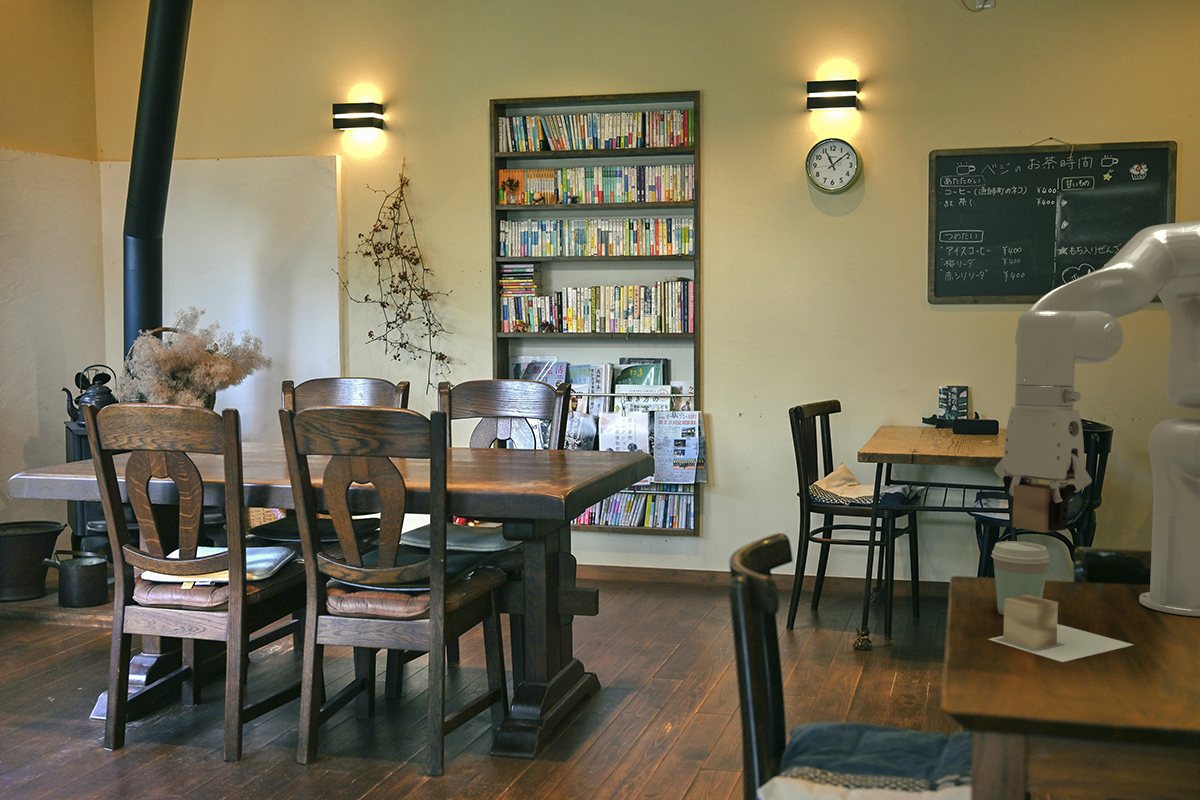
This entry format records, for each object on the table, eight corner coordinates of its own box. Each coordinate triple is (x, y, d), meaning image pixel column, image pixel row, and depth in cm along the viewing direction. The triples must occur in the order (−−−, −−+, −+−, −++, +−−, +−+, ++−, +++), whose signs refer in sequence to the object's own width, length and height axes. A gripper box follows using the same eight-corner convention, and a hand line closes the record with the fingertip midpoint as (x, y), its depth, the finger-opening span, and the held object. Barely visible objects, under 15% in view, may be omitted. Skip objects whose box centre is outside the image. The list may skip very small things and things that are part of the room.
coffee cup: (1054, 630, 153) (1056, 552, 153) (994, 626, 155) (997, 550, 155) (1041, 615, 162) (1043, 541, 161) (985, 612, 164) (987, 539, 163)
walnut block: (1034, 524, 145) (1036, 483, 145) (1066, 529, 141) (1067, 487, 141) (1012, 526, 143) (1013, 485, 142) (1043, 532, 138) (1045, 489, 138)
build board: (1058, 631, 152) (1058, 623, 152) (1133, 653, 142) (1134, 644, 142) (987, 647, 144) (987, 638, 144) (1062, 670, 134) (1062, 661, 134)
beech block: (1026, 635, 146) (1027, 594, 146) (1056, 644, 142) (1057, 602, 142) (1003, 639, 144) (1004, 598, 144) (1033, 649, 140) (1035, 606, 139)
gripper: (1117, 401, 136) (1112, 534, 137) (1009, 395, 150) (1004, 516, 151) (1083, 401, 132) (1078, 539, 133) (975, 396, 146) (971, 519, 147)
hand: (1039, 525), depth 142 cm, fingers closed on walnut block, 5 cm apart
